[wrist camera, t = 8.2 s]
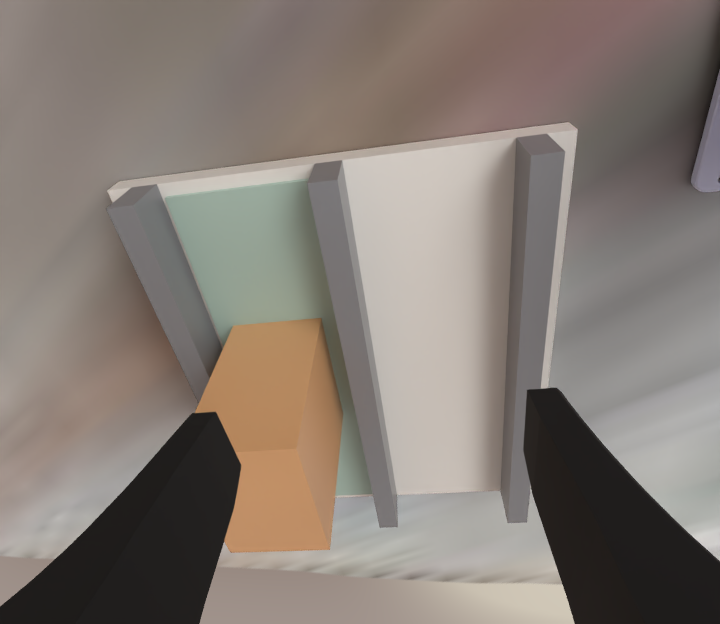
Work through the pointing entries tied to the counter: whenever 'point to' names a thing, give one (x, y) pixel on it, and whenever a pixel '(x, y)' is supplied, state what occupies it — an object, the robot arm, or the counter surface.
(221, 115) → the counter surface
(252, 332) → the orange block
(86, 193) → the counter surface
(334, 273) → the slot rack
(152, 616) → the robot arm
